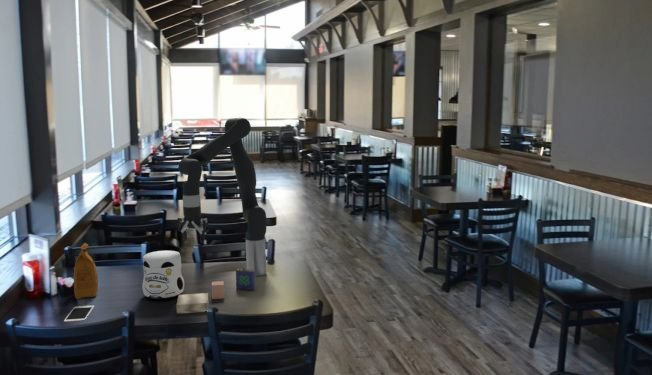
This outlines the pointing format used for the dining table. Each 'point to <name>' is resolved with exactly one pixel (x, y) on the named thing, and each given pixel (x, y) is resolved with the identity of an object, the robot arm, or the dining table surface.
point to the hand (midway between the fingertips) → (193, 241)
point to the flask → (245, 279)
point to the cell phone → (79, 313)
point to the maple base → (192, 303)
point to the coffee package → (85, 275)
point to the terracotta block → (218, 290)
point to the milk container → (162, 275)
